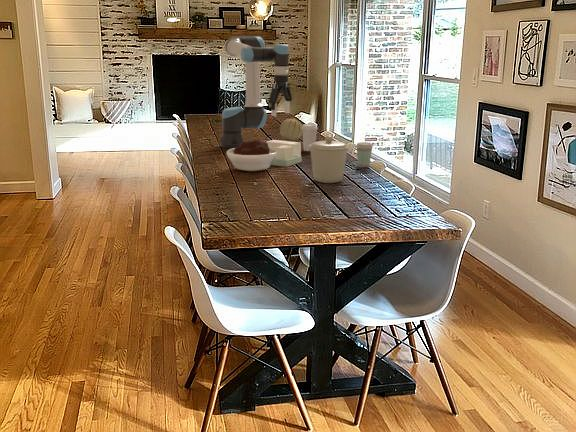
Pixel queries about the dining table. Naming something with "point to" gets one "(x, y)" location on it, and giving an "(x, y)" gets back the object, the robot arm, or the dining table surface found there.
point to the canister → (328, 160)
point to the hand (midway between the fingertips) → (280, 114)
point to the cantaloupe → (291, 130)
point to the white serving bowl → (252, 156)
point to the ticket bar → (296, 145)
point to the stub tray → (287, 161)
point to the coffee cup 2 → (364, 154)
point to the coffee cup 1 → (308, 135)
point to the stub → (284, 152)
